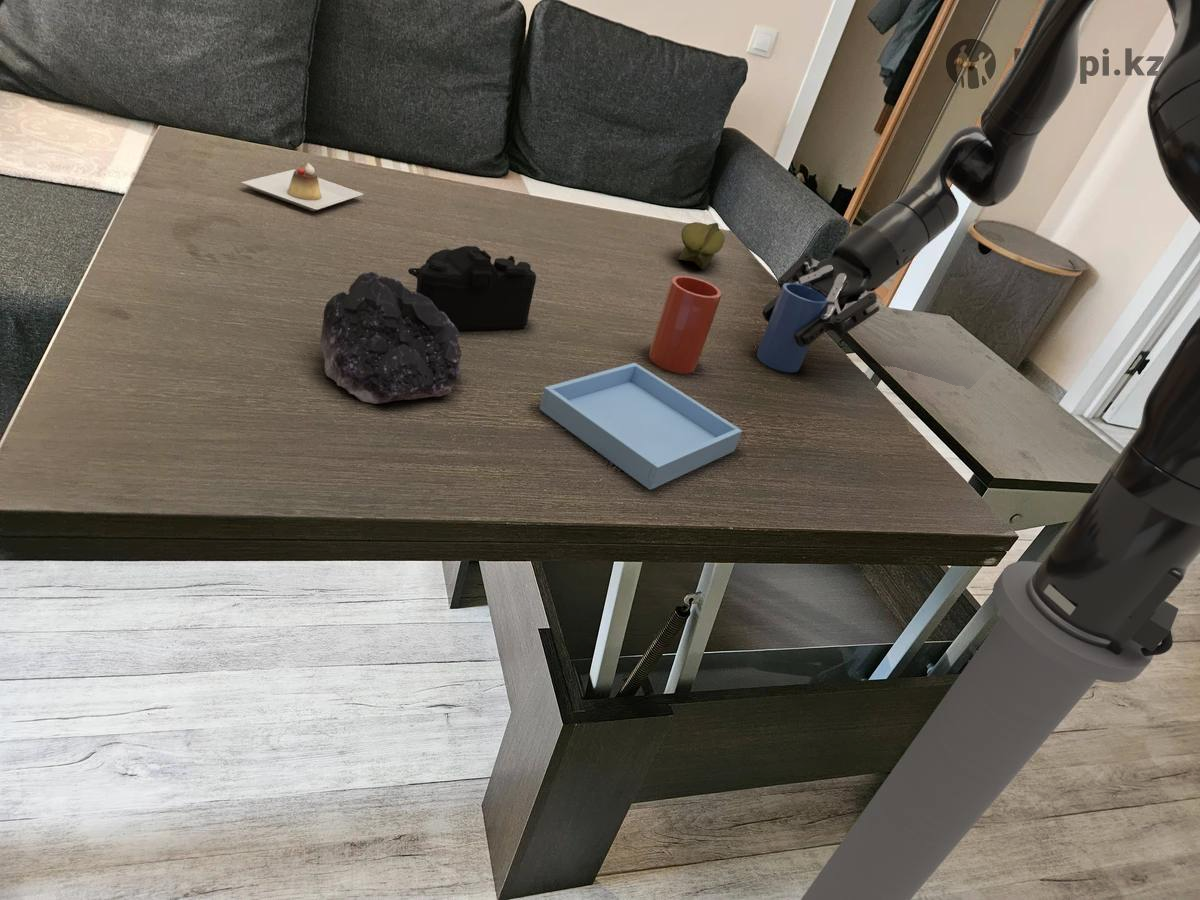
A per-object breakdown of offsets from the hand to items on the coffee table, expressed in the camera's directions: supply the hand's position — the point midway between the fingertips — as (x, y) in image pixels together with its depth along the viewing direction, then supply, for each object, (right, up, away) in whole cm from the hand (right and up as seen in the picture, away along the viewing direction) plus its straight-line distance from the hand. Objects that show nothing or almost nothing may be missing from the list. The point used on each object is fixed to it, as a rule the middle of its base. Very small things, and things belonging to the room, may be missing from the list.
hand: (781, 329), depth 103 cm
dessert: (-66, +21, +12) cm, 71 cm away
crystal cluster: (-44, -8, -24) cm, 51 cm away
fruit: (-7, +16, +32) cm, 36 cm away
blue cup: (0, -4, +3) cm, 5 cm away
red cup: (-15, -5, -5) cm, 16 cm away
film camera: (-40, 0, -8) cm, 41 cm away
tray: (-20, -14, -21) cm, 32 cm away
